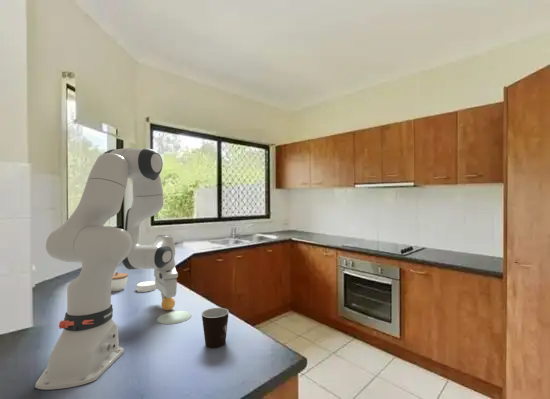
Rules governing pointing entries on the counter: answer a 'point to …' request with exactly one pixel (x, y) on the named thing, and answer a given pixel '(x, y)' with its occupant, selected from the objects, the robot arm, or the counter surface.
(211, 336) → the coffee mug
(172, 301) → the ball
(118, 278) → the lidded jar
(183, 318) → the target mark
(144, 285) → the white round disc
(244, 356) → the counter surface
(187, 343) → the counter surface
